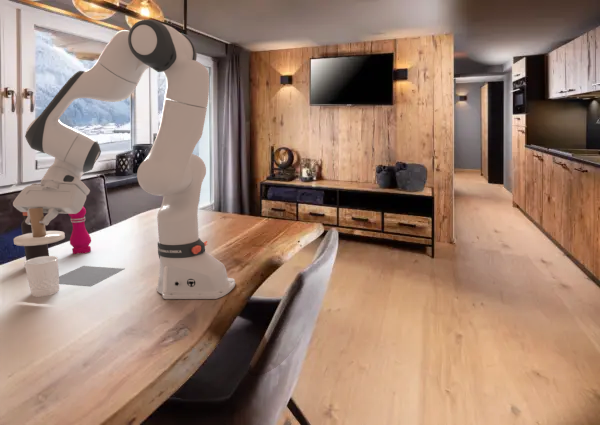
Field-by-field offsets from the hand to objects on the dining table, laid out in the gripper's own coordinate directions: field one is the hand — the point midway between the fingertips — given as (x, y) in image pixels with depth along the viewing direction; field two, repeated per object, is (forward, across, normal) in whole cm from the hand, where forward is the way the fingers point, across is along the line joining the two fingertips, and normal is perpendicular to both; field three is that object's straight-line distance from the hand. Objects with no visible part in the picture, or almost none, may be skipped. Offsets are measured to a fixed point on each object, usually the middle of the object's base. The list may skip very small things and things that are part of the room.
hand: (35, 223), depth 112 cm
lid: (+3, 0, +4) cm, 5 cm away
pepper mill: (-12, -20, +41) cm, 48 cm away
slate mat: (+4, +2, +24) cm, 25 cm away
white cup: (+14, 0, +15) cm, 21 cm away
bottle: (-1, -24, +30) cm, 38 cm away
